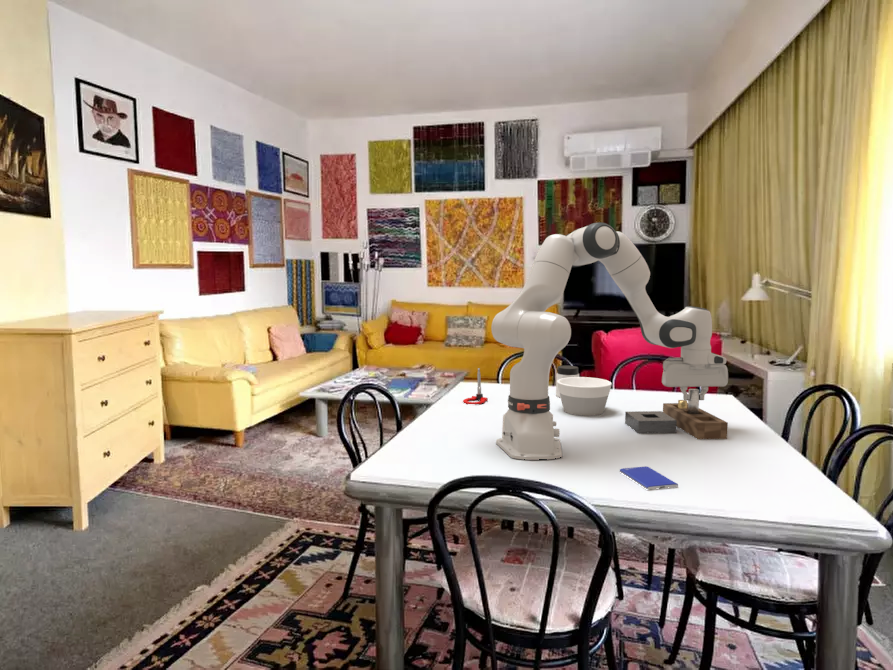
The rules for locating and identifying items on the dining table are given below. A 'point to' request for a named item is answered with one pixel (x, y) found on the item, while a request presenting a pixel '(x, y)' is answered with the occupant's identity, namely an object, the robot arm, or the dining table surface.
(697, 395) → the steel peg
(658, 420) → the socket block
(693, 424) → the rack
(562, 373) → the jar
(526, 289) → the robot arm
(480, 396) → the tow hook
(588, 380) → the bowl
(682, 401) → the cylinder
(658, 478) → the hard drive
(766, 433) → the dining table surface
